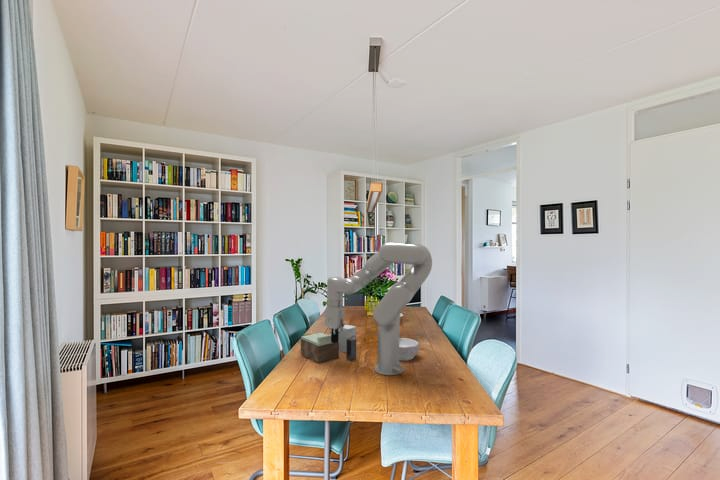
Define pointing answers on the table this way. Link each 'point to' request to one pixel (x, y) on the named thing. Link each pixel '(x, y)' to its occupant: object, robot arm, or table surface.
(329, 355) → the box
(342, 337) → the supplement box
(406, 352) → the paper bowls
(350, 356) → the dark grey tall block
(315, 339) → the lid
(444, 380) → the table surface
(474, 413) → the table surface
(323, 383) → the table surface
